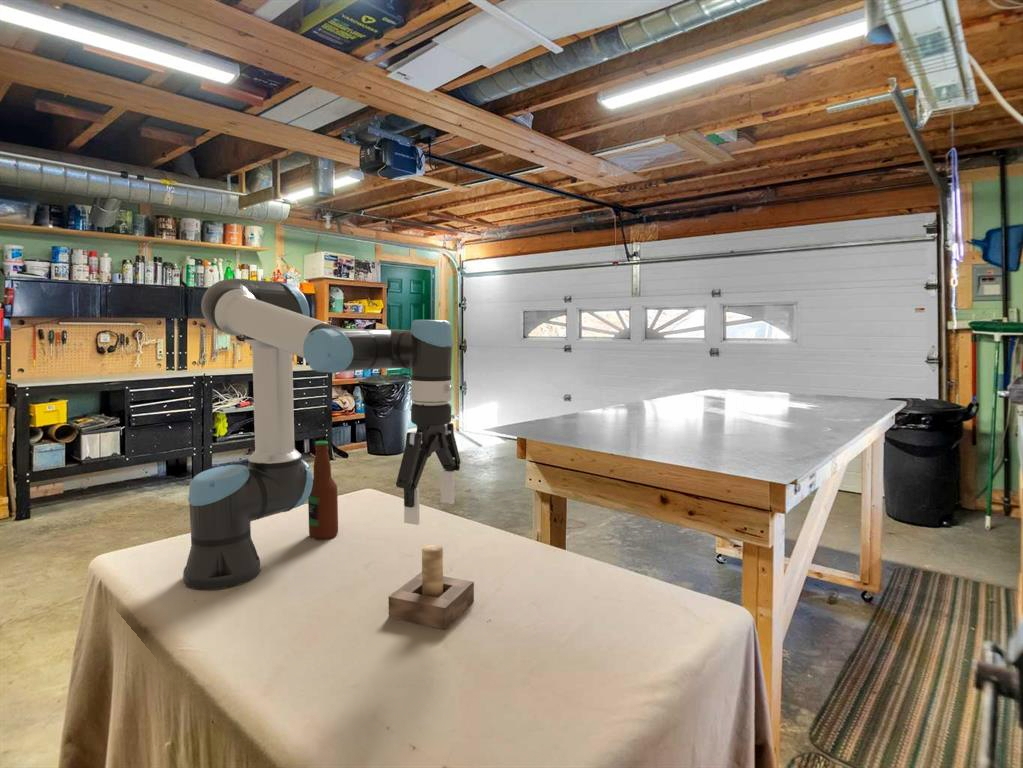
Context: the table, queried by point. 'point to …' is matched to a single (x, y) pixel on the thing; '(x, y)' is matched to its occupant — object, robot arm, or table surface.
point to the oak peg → (432, 571)
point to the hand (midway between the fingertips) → (430, 512)
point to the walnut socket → (431, 602)
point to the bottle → (323, 497)
